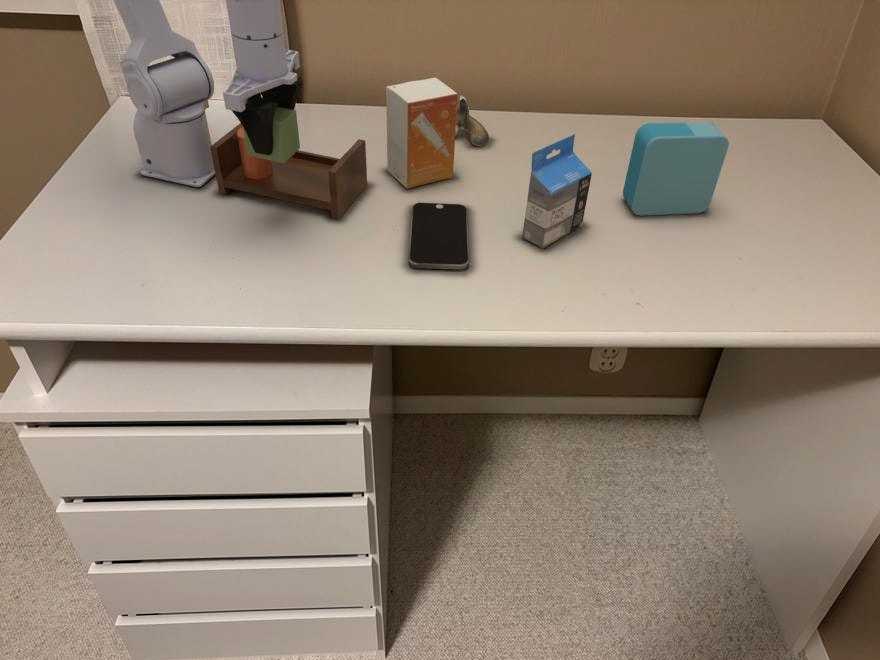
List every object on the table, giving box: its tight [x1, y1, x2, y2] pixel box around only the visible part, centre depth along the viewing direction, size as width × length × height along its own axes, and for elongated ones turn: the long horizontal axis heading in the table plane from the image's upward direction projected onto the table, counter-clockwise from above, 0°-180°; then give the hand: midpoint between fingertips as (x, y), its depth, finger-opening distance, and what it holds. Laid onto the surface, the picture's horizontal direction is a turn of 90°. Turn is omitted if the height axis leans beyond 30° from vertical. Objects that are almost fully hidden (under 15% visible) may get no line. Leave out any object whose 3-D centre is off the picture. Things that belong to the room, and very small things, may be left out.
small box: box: [385, 77, 458, 190], centre depth 104 cm, size 8×6×13 cm
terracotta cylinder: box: [237, 128, 273, 180], centre depth 99 cm, size 4×4×6 cm
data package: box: [622, 121, 730, 217], centre depth 102 cm, size 12×4×12 cm, turn 100°
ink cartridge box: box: [521, 133, 593, 249], centre depth 95 cm, size 9×4×12 cm, turn 137°
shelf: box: [210, 122, 368, 220], centre depth 101 cm, size 10×18×7 cm, turn 74°
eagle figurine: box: [455, 95, 490, 148], centre depth 117 cm, size 8×7×9 cm
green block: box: [243, 107, 301, 163], centre depth 90 cm, size 5×4×5 cm
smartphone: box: [408, 202, 470, 270], centre depth 96 cm, size 8×1×15 cm
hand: (272, 144), depth 91 cm, fingers closed on green block, 4 cm apart
